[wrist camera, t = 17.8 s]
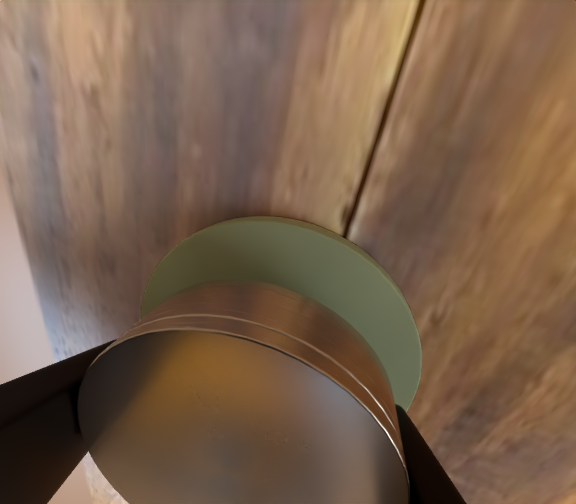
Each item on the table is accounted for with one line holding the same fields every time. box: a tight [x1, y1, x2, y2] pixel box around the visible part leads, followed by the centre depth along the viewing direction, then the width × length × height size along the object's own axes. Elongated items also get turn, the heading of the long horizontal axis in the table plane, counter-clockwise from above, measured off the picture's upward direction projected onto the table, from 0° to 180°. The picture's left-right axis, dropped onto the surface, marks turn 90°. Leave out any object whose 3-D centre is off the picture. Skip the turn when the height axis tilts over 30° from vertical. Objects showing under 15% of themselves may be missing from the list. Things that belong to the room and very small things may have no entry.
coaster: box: [141, 216, 422, 412], centre depth 9 cm, size 9×9×1 cm
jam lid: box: [77, 279, 410, 504], centre depth 7 cm, size 7×7×2 cm
